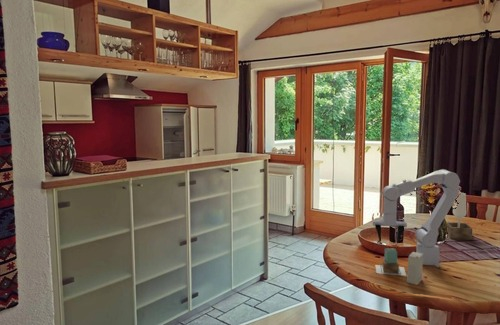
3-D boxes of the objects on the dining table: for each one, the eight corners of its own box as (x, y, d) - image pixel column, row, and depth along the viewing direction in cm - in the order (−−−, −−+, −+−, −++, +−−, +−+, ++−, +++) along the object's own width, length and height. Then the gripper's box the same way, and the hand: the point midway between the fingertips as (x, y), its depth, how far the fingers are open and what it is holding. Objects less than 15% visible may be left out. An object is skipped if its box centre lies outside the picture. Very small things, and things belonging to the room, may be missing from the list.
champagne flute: (451, 236, 209) (453, 194, 206) (451, 233, 215) (453, 191, 212) (465, 238, 206) (468, 195, 203) (465, 234, 212) (467, 192, 209)
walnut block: (396, 267, 168) (397, 259, 167) (398, 273, 162) (398, 264, 161) (382, 266, 169) (382, 258, 169) (383, 272, 164) (383, 263, 163)
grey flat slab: (403, 268, 169) (403, 267, 168) (406, 277, 160) (406, 275, 160) (375, 266, 172) (375, 264, 171) (376, 274, 163) (376, 272, 163)
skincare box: (411, 278, 159) (412, 251, 157) (422, 281, 156) (423, 253, 154) (406, 284, 154) (407, 255, 152) (417, 287, 151) (419, 258, 150)
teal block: (394, 259, 167) (394, 248, 166) (396, 263, 163) (397, 252, 162) (384, 259, 168) (384, 248, 167) (386, 263, 163) (387, 251, 163)
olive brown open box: (466, 233, 215) (466, 223, 214) (471, 239, 204) (472, 228, 204) (445, 232, 217) (446, 222, 216) (450, 238, 207) (450, 227, 206)
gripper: (405, 211, 174) (404, 239, 176) (372, 209, 178) (371, 237, 180) (407, 215, 167) (406, 244, 169) (373, 213, 171) (372, 242, 173)
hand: (388, 241), depth 174 cm, fingers open, 7 cm apart
